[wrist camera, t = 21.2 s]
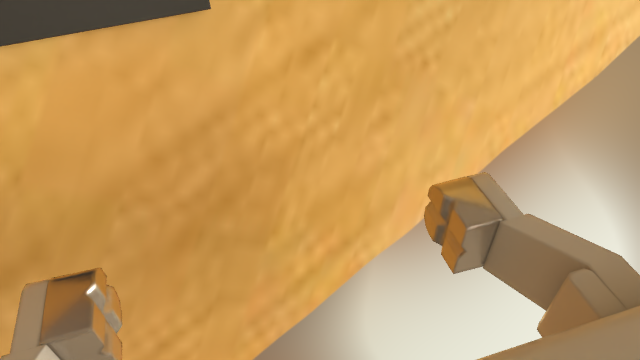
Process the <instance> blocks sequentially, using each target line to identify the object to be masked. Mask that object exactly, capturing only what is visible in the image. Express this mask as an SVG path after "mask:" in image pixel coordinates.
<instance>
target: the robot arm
mask: <svg viewBox="0 0 640 360" xmlns="http://www.w3.org/2000/svg"><path fill="white" fill-rule="evenodd" d="M428 197H429V199H430V200H431V202H430V203H429V204H428V205H427V206H426V207H425V213H424V219H425V225H426V228H427V231H428V233H429V235H430V237H431V238H432V240H433V241H434V242H436V243H438V244H440V245H442V252H441V255H442V256H443V258H444V260H445V261H446V263H447V264H448V266H449V268H450V269H451V271H452V272H453V274H455V273H459V272H463V271H467V270H471V269H475V268H478V267H482V266H483V268H484V269H485V270H487V271H488V272H490V273H491V274H492V275H494V276H495V277H497V278H499V279H500V280H501V281H503V282H504V283H506V284H507V285H509V286H510V287H512V288H514V289H515V290H516V291H518V292H519V293H521V294H522V295H524V296H525V297H527V298H528V299H530V300H531V301H533V302H534V303H536V304H537V305H539V306H540V307H542V308H543V309H544V310H546V312H545V314H544V316H543V317H542V319H541V321H540V322H539V325H538V327H537V330H538V332H539V333H540V334H541V336H542V338H540V339H537V340H534V341H531V342H528V343H525V344H522V345H519V346H516V347H513V348H510V349H507V350H504V351H501V352H498V353H495V354H492V355H489V356H486V357H483V358H480V359H477V360H640V275H639V274H638V273H637V272H636V271H635V270H634V269H633V268H632V267H631V266H630V265H629V264H628V263H627V262H626V261H625V260H624V259H623V258H622V256H620V255H618V254H616V253H614V252H611V251H609V250H607V249H605V248H603V247H601V246H598V245H596V244H594V243H592V242H590V241H587V240H585V239H583V238H581V237H579V236H577V235H574V234H572V233H570V232H568V231H566V230H563V229H561V228H559V227H557V226H555V225H552V224H550V223H548V222H546V221H544V220H542V219H539V218H537V217H535V216H533V215H531V214H525V215H523V213H522V212H521V211H520V210H519V209H518V207H517V206H516V205H515V204H514V203H513V201H512V200H511V199H510V198H509V197H508V196H507V194H506V193H505V192H504V191H503V190H502V189H501V188H500V186H499V185H498V184H497V183H496V181H495V180H494V179H493V178H492V177H491V176H490V175H489V174H488V173H486V172H484V173H479V174H475V175H471V176H467V177H462V178H458V179H454V180H450V181H446V182H442V183H439V184H435V185H432V186H431V187H430V188H429V192H428ZM106 282H107V276H106V274H105V273H104V271H103V270H102V268H95V269H91V270H86V271H82V272H77V273H73V274H68V275H63V276H59V277H54V278H51V279H46V280H42V281H38V282H33V283H29V284H26V286H25V287H24V289H23V291H22V293H21V298H20V303H19V308H18V314H17V319H16V324H15V329H14V334H13V340H12V345H11V350H10V354H7V355H4V356H2V357H1V358H0V360H122V342H121V340H120V339H119V337H118V336H117V332H118V331H119V329H120V328H121V326H122V310H121V304H120V300H119V297H118V294H117V292H116V290H115V289H114V287H112V286H109V285H107V284H106Z"/></svg>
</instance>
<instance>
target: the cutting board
mask: <svg viewBox="0 0 640 360" xmlns="http://www.w3.org/2000/svg"><path fill="white" fill-rule="evenodd" d="M208 9H211V7H210V2H209V0H0V46H5V45H11V44H16V43H22V42H28V41H33V40H39V39H45V38H50V37H56V36H61V35H67V34H73V33H78V32H84V31H90V30H95V29H101V28H106V27H112V26H118V25H123V24H129V23H134V22H140V21H146V20H151V19H157V18H163V17H168V16H174V15H179V14H185V13H191V12H196V11H202V10H208Z"/></svg>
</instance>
